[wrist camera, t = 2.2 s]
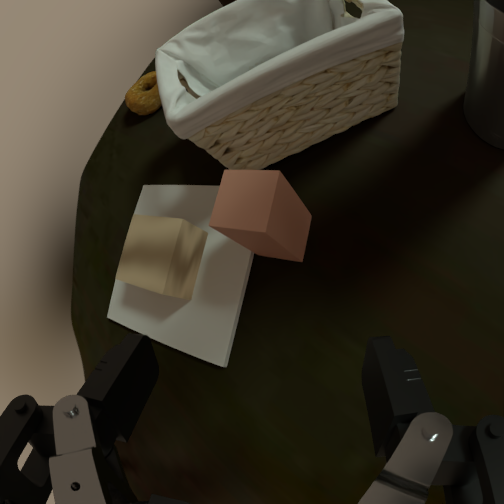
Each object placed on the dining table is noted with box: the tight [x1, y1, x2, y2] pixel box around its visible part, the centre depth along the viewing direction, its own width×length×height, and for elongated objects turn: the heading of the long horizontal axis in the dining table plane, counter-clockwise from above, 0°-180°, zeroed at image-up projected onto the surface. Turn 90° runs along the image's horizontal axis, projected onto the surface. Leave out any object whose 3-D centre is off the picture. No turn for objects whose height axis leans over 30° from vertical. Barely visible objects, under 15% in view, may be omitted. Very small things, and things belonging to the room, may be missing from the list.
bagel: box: [125, 71, 162, 115], centre depth 48 cm, size 10×11×5 cm
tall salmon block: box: [209, 170, 312, 262], centre depth 28 cm, size 5×5×10 cm
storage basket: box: [155, 0, 404, 170], centre depth 29 cm, size 24×16×15 cm
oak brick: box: [116, 214, 208, 300], centre depth 35 cm, size 8×8×5 cm
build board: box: [107, 185, 254, 367], centre depth 37 cm, size 20×20×1 cm
